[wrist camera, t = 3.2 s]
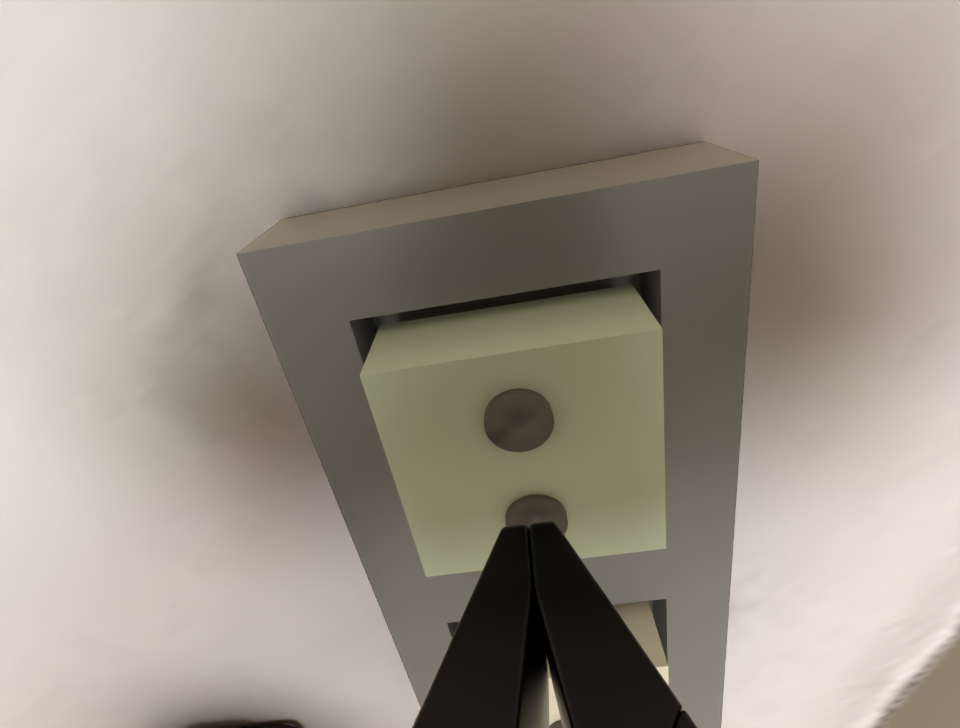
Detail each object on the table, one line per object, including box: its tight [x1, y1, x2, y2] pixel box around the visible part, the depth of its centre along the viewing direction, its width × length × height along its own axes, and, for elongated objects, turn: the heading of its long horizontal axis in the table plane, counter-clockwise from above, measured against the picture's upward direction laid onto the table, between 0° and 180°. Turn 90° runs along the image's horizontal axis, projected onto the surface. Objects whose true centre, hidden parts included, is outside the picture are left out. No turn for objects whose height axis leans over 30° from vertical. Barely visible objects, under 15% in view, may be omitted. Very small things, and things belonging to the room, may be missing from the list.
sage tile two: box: [360, 284, 666, 577], centre depth 11 cm, size 5×5×2 cm
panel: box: [236, 141, 759, 728], centre depth 15 cm, size 18×9×2 cm, turn 10°
